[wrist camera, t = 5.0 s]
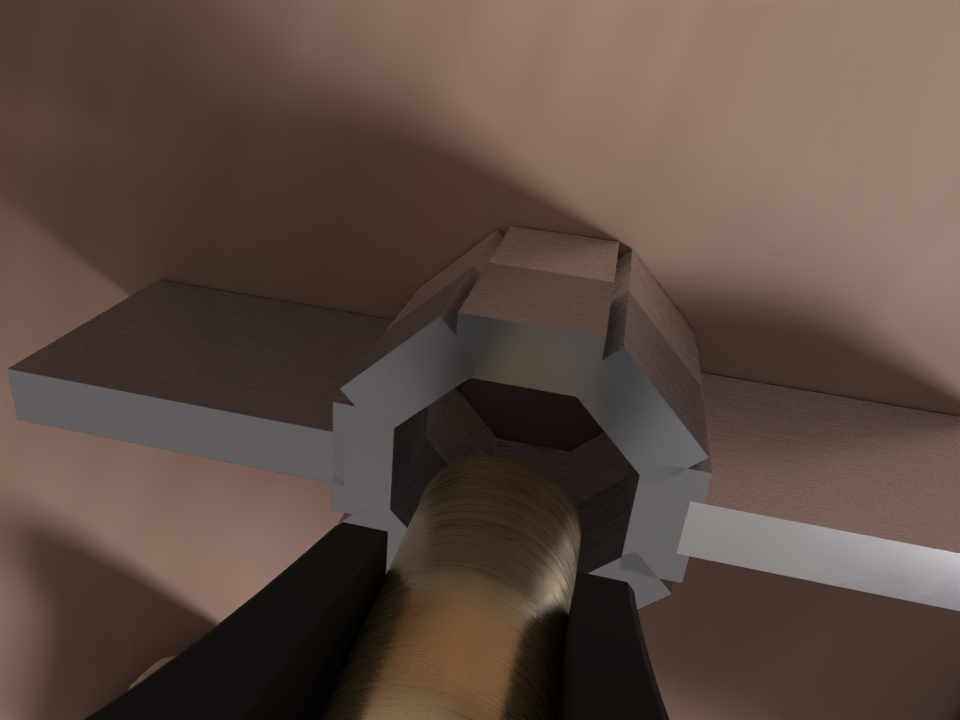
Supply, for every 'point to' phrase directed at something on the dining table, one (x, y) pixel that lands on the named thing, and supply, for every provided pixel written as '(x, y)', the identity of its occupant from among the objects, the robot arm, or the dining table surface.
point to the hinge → (463, 434)
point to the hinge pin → (470, 603)
